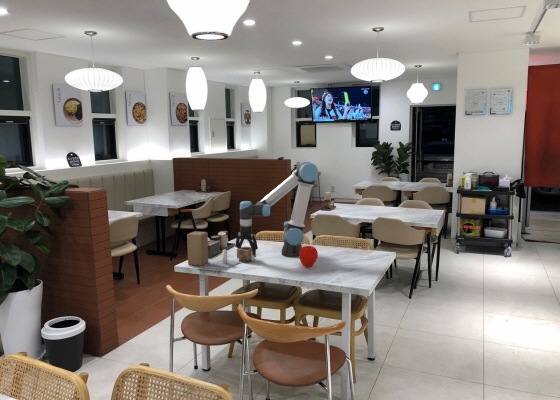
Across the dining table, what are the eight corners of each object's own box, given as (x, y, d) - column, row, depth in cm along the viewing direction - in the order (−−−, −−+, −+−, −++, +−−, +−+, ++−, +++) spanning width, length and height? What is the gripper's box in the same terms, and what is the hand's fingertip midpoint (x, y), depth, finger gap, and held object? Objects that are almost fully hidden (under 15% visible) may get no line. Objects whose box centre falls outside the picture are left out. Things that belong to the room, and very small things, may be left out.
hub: (240, 263, 286) (240, 248, 285) (227, 268, 274) (226, 253, 273) (222, 260, 293) (222, 246, 292) (209, 265, 281) (208, 250, 280)
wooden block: (209, 262, 289) (208, 231, 286) (201, 266, 280) (200, 235, 277) (195, 260, 292) (194, 230, 289) (187, 265, 283) (186, 234, 280)
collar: (256, 256, 294) (255, 247, 293) (248, 260, 286) (248, 250, 285) (244, 255, 298) (244, 246, 297) (236, 258, 291) (236, 249, 290)
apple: (312, 270, 269) (312, 249, 267) (295, 268, 275) (295, 246, 273) (320, 266, 279) (321, 245, 277) (304, 263, 285) (304, 242, 283)
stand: (254, 259, 294) (253, 249, 293) (248, 262, 288) (247, 251, 287) (245, 258, 297) (245, 248, 296) (239, 261, 291) (238, 250, 290)
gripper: (263, 225, 287) (263, 259, 290) (235, 222, 298) (236, 255, 301) (256, 227, 281) (257, 262, 284) (229, 224, 291) (229, 258, 295)
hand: (246, 258), depth 292 cm, fingers closed on collar, 9 cm apart
